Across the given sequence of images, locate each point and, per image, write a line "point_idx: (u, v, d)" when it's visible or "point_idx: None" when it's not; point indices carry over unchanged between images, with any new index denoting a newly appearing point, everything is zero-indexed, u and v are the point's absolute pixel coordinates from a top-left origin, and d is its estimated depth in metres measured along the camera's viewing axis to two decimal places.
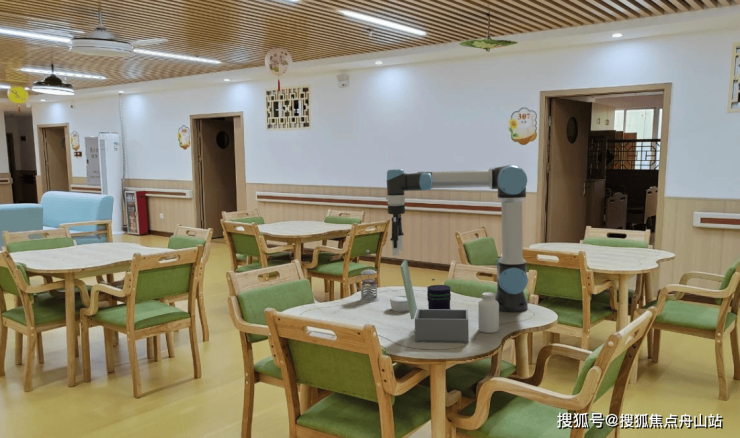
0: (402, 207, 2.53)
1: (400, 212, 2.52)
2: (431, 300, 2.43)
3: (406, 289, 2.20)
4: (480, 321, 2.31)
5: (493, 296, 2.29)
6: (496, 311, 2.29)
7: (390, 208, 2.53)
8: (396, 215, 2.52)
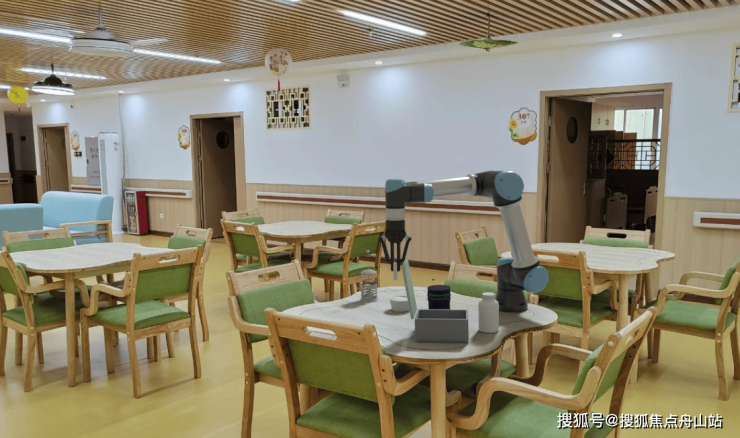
0: (388, 222, 2.23)
1: (386, 227, 2.24)
2: (431, 300, 2.43)
3: (407, 289, 2.20)
4: (480, 321, 2.31)
5: (493, 296, 2.29)
6: (496, 311, 2.29)
7: None
8: None
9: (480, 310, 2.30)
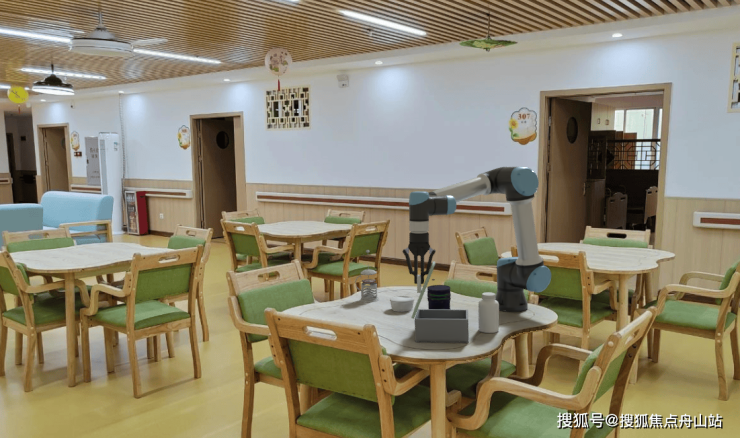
0: (412, 235, 2.22)
1: (410, 240, 2.23)
2: (431, 300, 2.43)
3: (423, 290, 2.19)
4: (480, 321, 2.31)
5: (493, 296, 2.29)
6: (496, 311, 2.29)
7: None
8: (409, 243, 2.25)
9: (480, 310, 2.30)
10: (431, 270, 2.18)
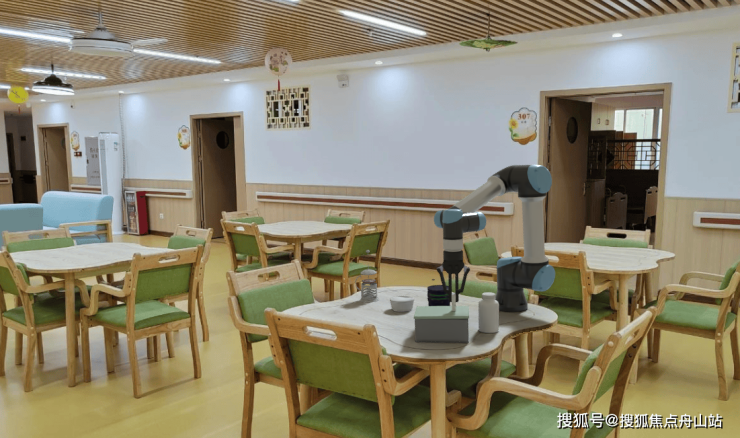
0: (447, 253, 2.20)
1: (445, 258, 2.21)
2: (431, 300, 2.43)
3: (444, 317, 2.19)
4: (480, 321, 2.31)
5: (493, 296, 2.29)
6: (496, 311, 2.29)
7: None
8: (443, 261, 2.23)
9: (480, 310, 2.30)
10: (467, 317, 2.17)
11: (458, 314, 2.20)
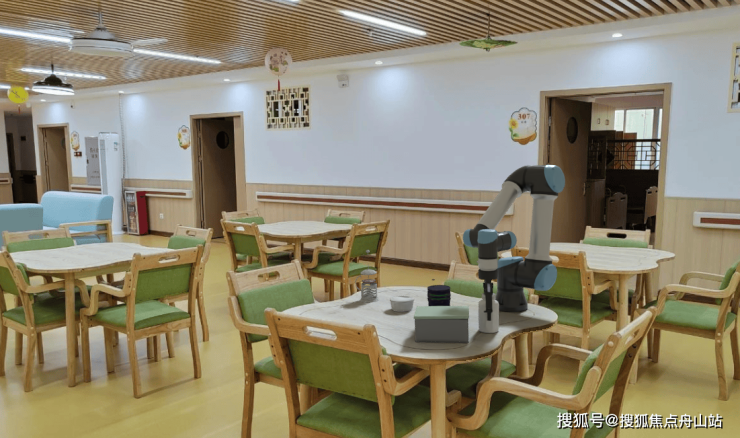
0: (495, 272, 2.28)
1: (493, 278, 2.27)
2: (431, 300, 2.43)
3: (444, 317, 2.19)
4: (480, 321, 2.31)
5: (493, 296, 2.29)
6: (496, 311, 2.29)
7: (482, 273, 2.28)
8: (489, 281, 2.27)
9: (480, 310, 2.30)
10: (467, 317, 2.17)
11: (458, 314, 2.20)
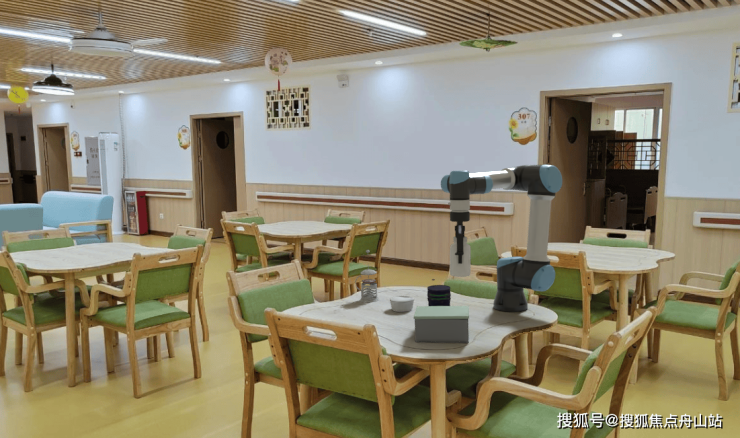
0: (467, 214, 2.21)
1: (465, 219, 2.21)
2: (431, 300, 2.43)
3: (444, 317, 2.19)
4: (452, 264, 2.24)
5: (465, 239, 2.23)
6: (468, 254, 2.23)
7: (454, 215, 2.21)
8: (461, 223, 2.21)
9: (451, 253, 2.24)
10: (467, 317, 2.17)
11: (458, 314, 2.20)
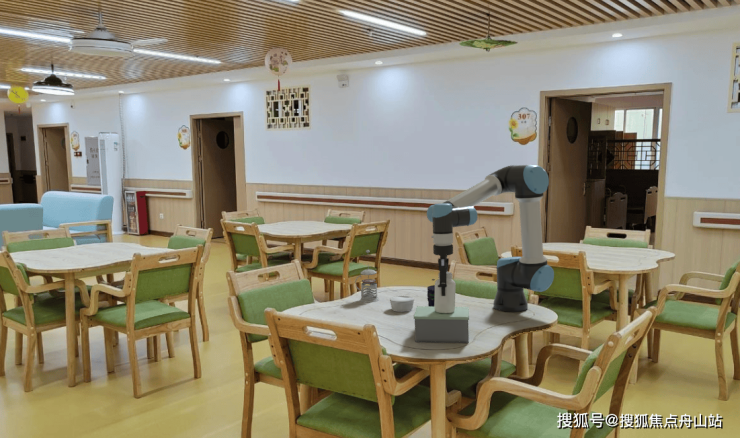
0: (450, 247, 2.21)
1: (448, 253, 2.20)
2: (431, 300, 2.43)
3: (444, 318, 2.19)
4: (436, 301, 2.24)
5: (450, 275, 2.23)
6: (452, 291, 2.22)
7: (437, 248, 2.21)
8: (444, 256, 2.20)
9: (436, 289, 2.24)
10: (467, 318, 2.17)
11: (458, 315, 2.20)
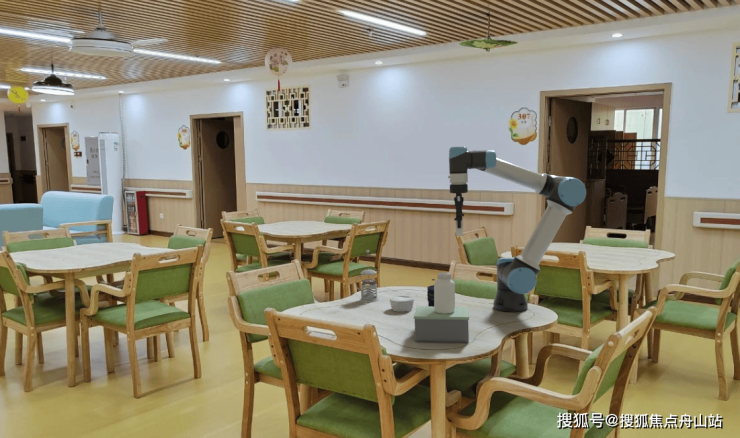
0: (465, 186, 2.43)
1: (463, 191, 2.42)
2: (431, 300, 2.43)
3: (444, 318, 2.19)
4: (436, 301, 2.24)
5: (449, 276, 2.22)
6: (452, 291, 2.22)
7: (453, 187, 2.43)
8: (459, 194, 2.42)
9: (435, 290, 2.23)
10: (467, 318, 2.17)
11: (458, 315, 2.20)
